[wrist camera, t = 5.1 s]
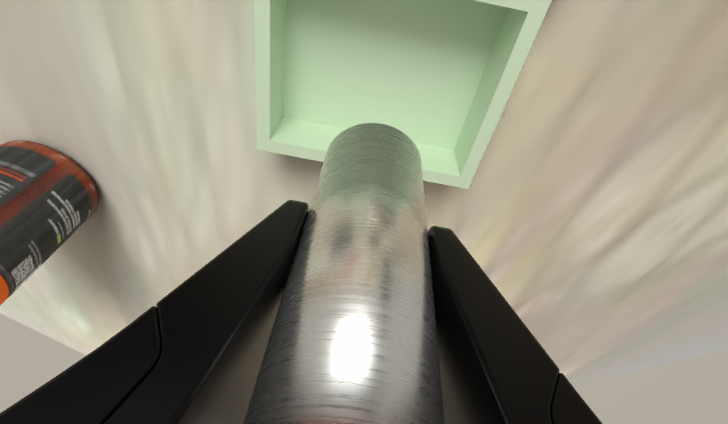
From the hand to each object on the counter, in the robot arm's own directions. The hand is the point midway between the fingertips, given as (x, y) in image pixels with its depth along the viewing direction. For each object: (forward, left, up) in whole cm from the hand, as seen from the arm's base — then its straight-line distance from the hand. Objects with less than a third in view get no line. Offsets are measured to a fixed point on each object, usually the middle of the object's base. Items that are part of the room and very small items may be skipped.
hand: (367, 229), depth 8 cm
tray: (0, 0, -12) cm, 12 cm away
